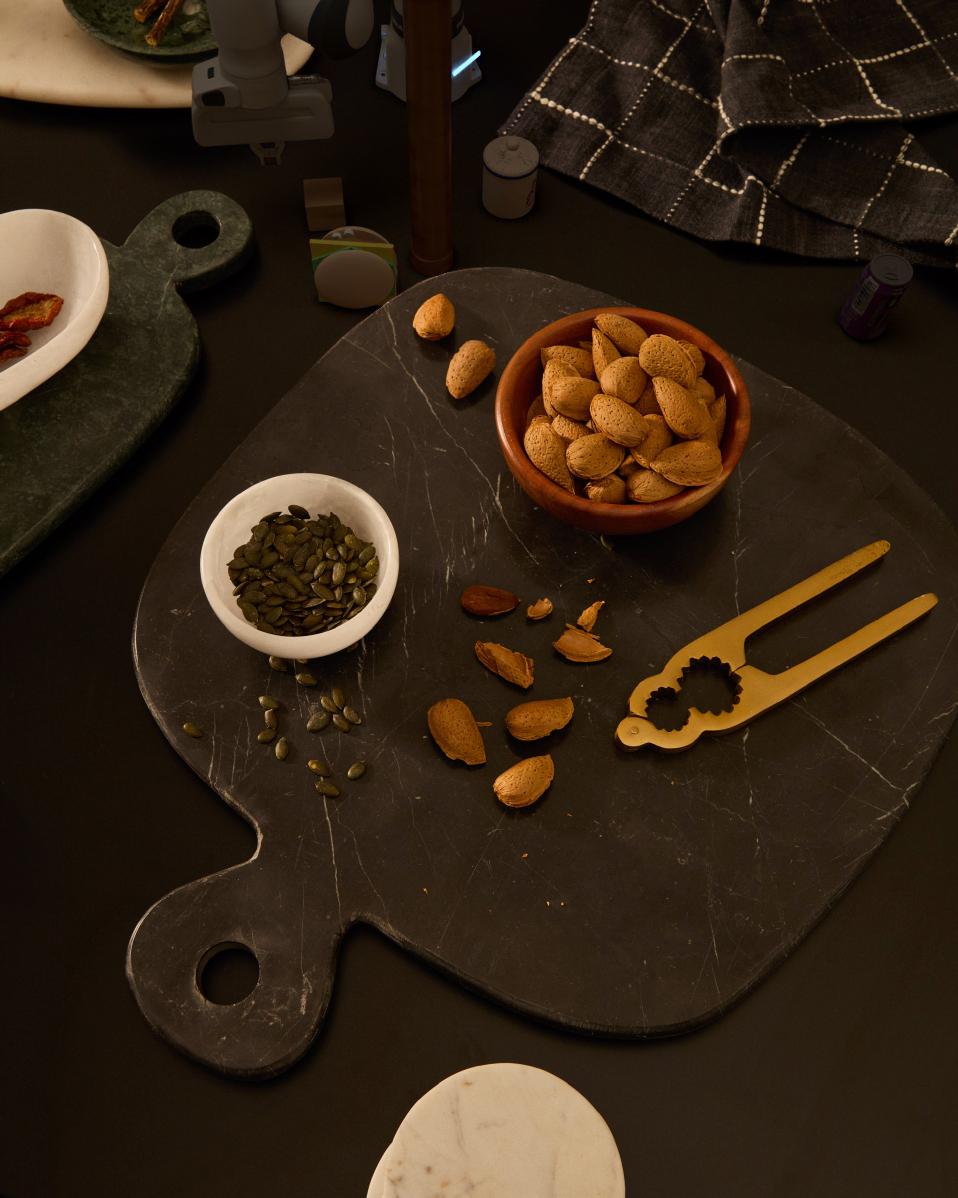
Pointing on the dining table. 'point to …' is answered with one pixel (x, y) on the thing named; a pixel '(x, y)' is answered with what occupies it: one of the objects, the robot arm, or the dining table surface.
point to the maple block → (324, 204)
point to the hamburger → (354, 268)
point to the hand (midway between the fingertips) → (271, 162)
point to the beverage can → (876, 296)
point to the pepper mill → (429, 131)
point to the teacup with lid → (509, 176)
